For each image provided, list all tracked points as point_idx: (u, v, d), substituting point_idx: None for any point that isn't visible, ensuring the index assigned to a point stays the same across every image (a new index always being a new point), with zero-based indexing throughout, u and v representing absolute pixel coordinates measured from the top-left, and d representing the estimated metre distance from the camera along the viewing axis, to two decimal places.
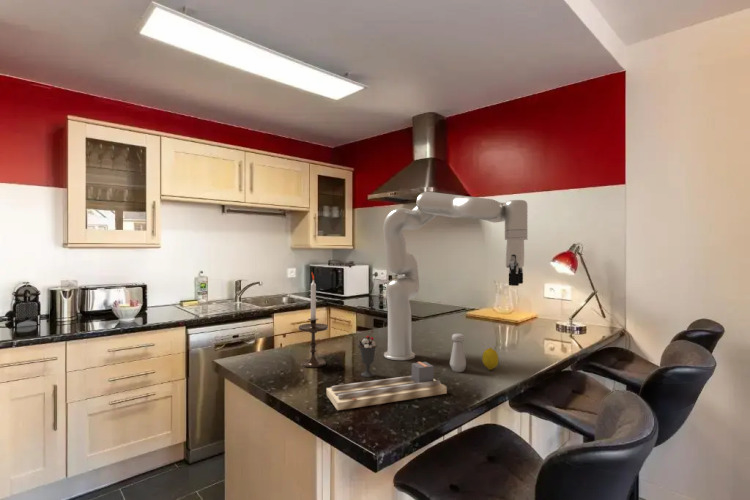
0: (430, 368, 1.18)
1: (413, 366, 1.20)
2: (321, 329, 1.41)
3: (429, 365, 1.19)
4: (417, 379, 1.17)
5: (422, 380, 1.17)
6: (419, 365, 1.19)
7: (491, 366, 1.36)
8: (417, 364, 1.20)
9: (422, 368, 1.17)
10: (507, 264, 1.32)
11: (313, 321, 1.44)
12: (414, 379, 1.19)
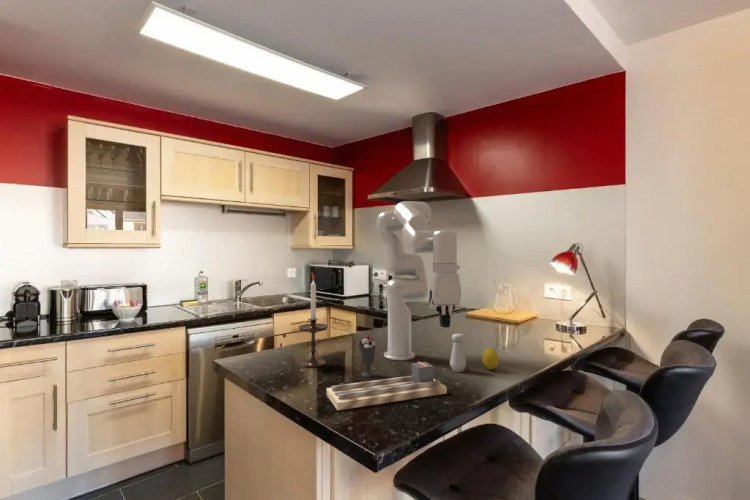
0: (430, 368, 1.18)
1: (413, 366, 1.20)
2: (321, 329, 1.41)
3: (429, 365, 1.19)
4: (417, 379, 1.17)
5: (422, 380, 1.17)
6: (419, 365, 1.19)
7: (491, 366, 1.36)
8: (417, 364, 1.20)
9: (422, 368, 1.17)
10: (428, 300, 1.23)
11: (313, 321, 1.44)
12: (414, 379, 1.19)
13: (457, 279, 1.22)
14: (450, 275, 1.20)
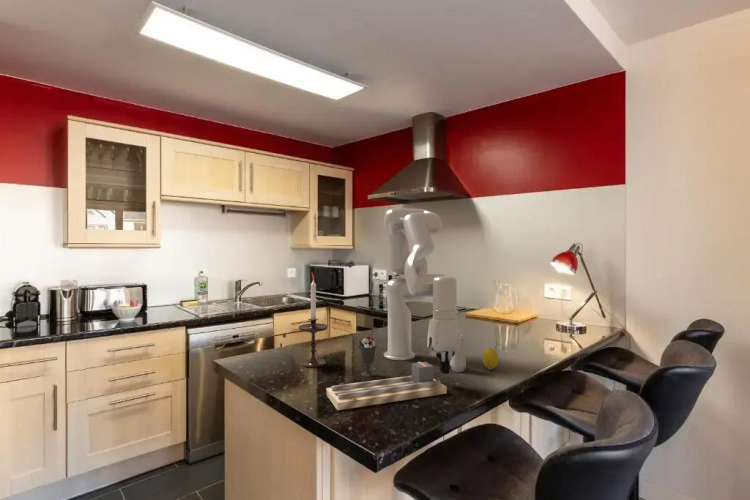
0: (430, 368, 1.18)
1: (413, 366, 1.20)
2: (321, 329, 1.41)
3: (429, 365, 1.19)
4: (417, 379, 1.17)
5: (422, 380, 1.17)
6: (419, 365, 1.19)
7: (491, 366, 1.36)
8: (417, 364, 1.20)
9: (422, 368, 1.17)
10: (427, 346, 1.23)
11: (313, 321, 1.44)
12: (414, 379, 1.19)
13: (457, 325, 1.22)
14: (450, 322, 1.20)
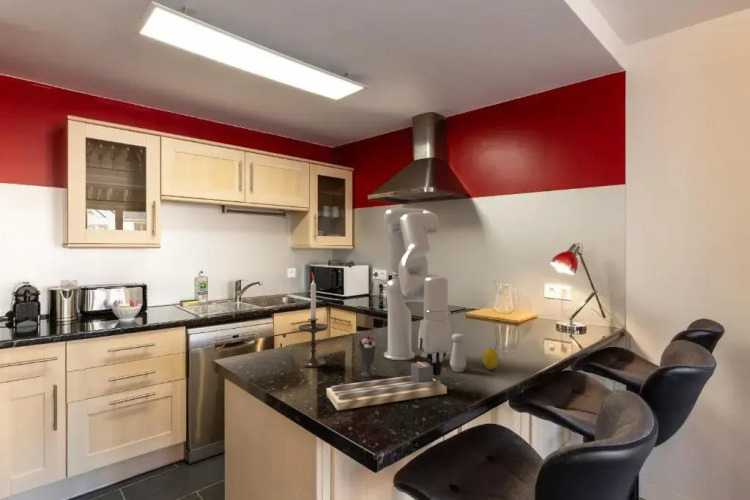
0: (429, 368, 1.18)
1: (412, 366, 1.20)
2: (321, 329, 1.41)
3: (428, 365, 1.19)
4: (416, 379, 1.17)
5: (421, 380, 1.17)
6: (418, 365, 1.19)
7: (491, 366, 1.36)
8: (416, 364, 1.20)
9: (421, 368, 1.17)
10: (418, 347, 1.21)
11: (313, 321, 1.44)
12: (413, 379, 1.19)
13: (448, 326, 1.20)
14: (441, 323, 1.19)
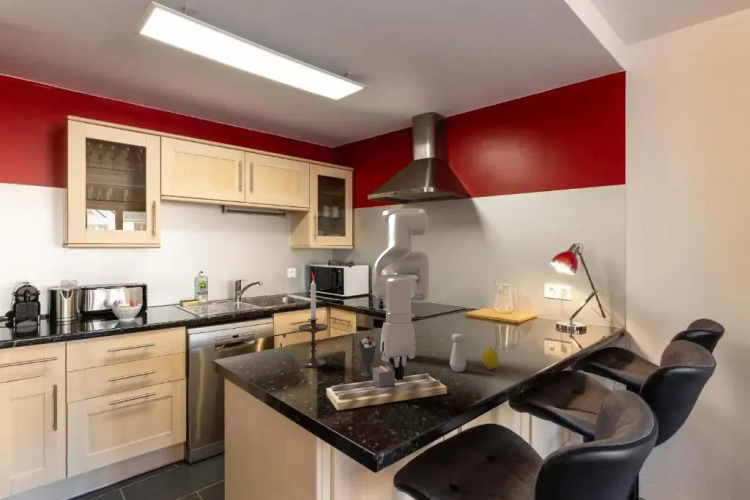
0: (391, 373, 1.13)
1: (374, 371, 1.15)
2: (321, 329, 1.41)
3: (390, 370, 1.14)
4: (377, 384, 1.12)
5: (382, 385, 1.12)
6: (380, 370, 1.14)
7: (491, 366, 1.36)
8: (378, 369, 1.15)
9: (382, 373, 1.12)
10: None
11: (313, 321, 1.44)
12: (375, 384, 1.14)
13: (411, 329, 1.16)
14: (403, 326, 1.14)
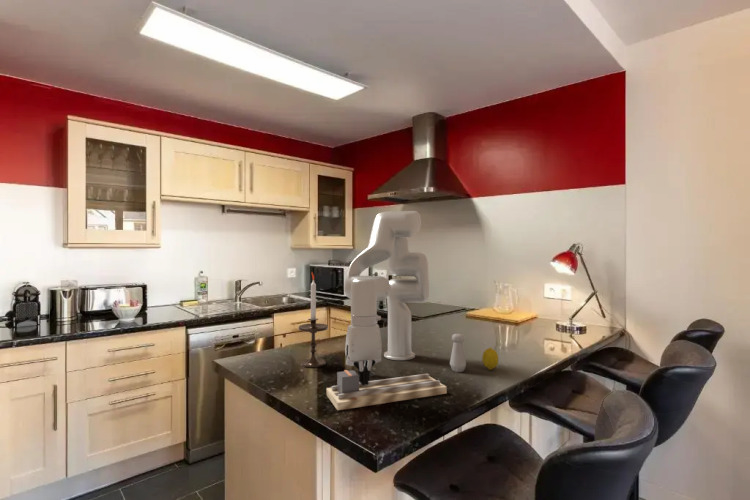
0: (355, 377, 1.09)
1: (338, 375, 1.11)
2: (321, 329, 1.41)
3: (355, 374, 1.10)
4: (341, 389, 1.08)
5: (346, 391, 1.08)
6: (344, 374, 1.10)
7: (491, 366, 1.36)
8: (342, 373, 1.11)
9: (346, 378, 1.08)
10: (345, 354, 1.12)
11: (313, 321, 1.44)
12: (339, 389, 1.10)
13: (377, 332, 1.12)
14: (368, 328, 1.10)
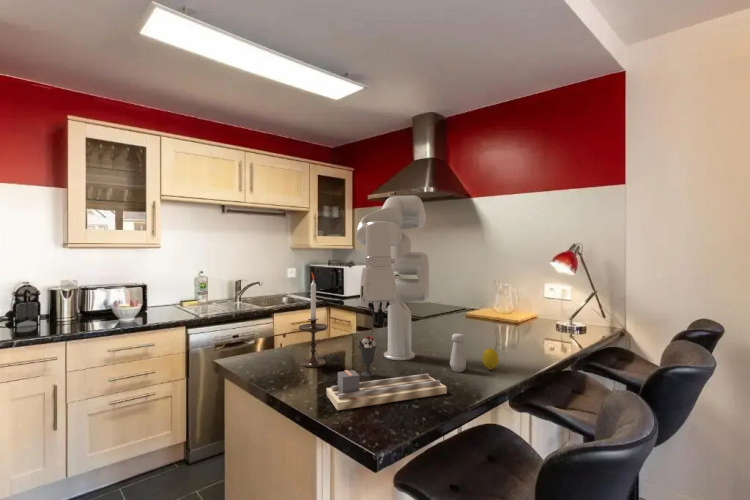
0: (355, 377, 1.09)
1: (339, 375, 1.11)
2: (321, 329, 1.41)
3: (355, 374, 1.10)
4: (341, 389, 1.08)
5: (346, 390, 1.08)
6: (344, 374, 1.10)
7: (491, 366, 1.36)
8: (343, 373, 1.11)
9: (346, 377, 1.08)
10: (360, 296, 1.14)
11: (313, 321, 1.44)
12: (339, 389, 1.10)
13: (391, 274, 1.13)
14: (383, 269, 1.12)
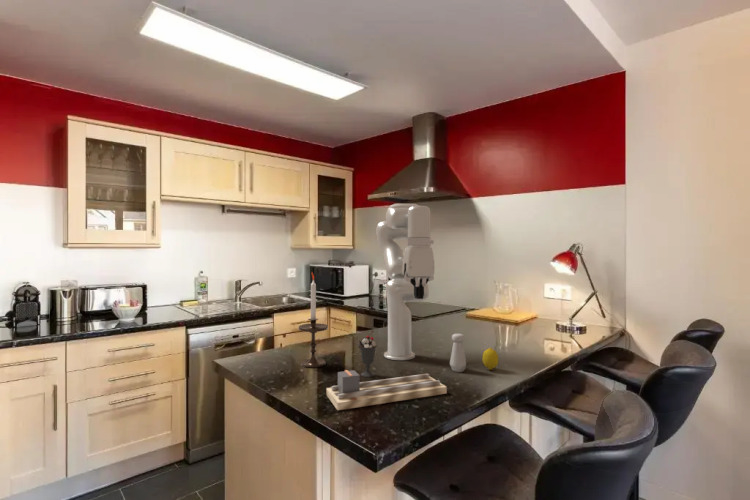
0: (355, 377, 1.09)
1: (339, 375, 1.11)
2: (321, 329, 1.41)
3: (355, 374, 1.10)
4: (341, 389, 1.08)
5: (346, 390, 1.08)
6: (344, 374, 1.10)
7: (491, 366, 1.36)
8: (343, 373, 1.11)
9: (346, 377, 1.08)
10: (402, 273, 1.28)
11: (313, 321, 1.44)
12: (339, 389, 1.10)
13: (430, 253, 1.27)
14: (423, 249, 1.26)
